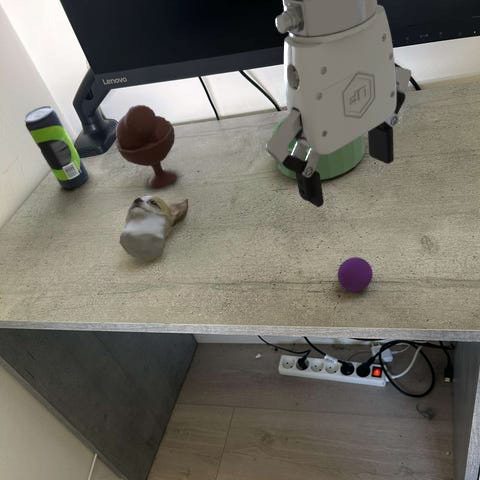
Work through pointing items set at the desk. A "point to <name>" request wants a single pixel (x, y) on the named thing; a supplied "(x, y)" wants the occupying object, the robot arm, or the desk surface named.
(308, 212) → the desk surface
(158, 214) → the ceramic sculpture
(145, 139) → the ice cream bowl
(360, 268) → the ball
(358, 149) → the green bowl
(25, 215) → the desk surface
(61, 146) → the beverage can
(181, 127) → the desk surface
